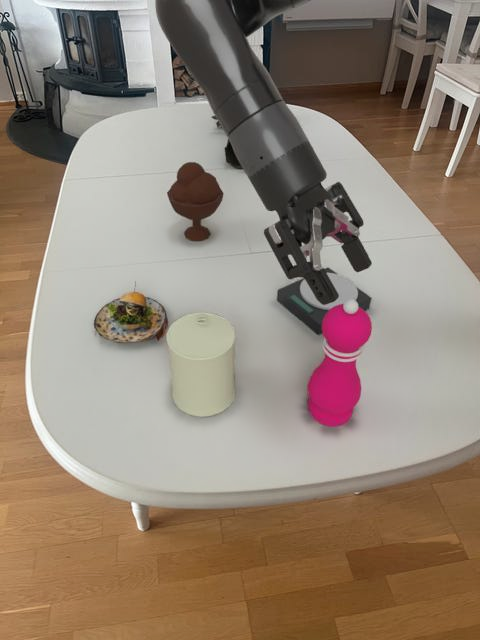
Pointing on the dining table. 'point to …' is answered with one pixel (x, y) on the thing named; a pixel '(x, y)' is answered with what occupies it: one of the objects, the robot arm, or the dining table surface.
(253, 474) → the dining table surface
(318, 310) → the kitchen scale
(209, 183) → the ice cream bowl
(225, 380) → the can
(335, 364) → the pepper mill
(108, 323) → the burger
